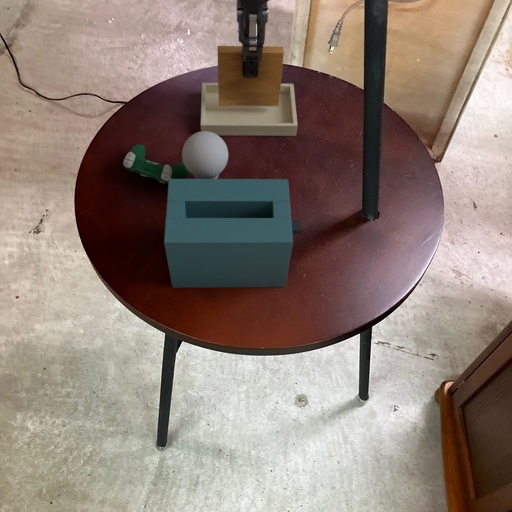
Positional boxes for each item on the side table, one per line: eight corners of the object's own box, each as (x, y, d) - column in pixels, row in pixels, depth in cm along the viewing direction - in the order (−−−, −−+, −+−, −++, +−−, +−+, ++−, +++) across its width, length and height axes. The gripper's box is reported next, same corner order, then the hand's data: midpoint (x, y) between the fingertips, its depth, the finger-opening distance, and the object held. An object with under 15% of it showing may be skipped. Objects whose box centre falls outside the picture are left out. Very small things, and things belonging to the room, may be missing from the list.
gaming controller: (133, 168, 80) (112, 169, 74) (139, 142, 79) (119, 142, 74) (190, 188, 79) (174, 190, 73) (197, 162, 78) (181, 163, 72)
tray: (201, 135, 82) (200, 125, 80) (202, 93, 87) (202, 82, 85) (296, 136, 83) (297, 125, 81) (292, 94, 87) (293, 83, 86)
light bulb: (236, 195, 76) (237, 144, 68) (198, 213, 74) (194, 162, 66) (215, 167, 79) (213, 115, 70) (178, 184, 77) (171, 131, 68)
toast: (218, 106, 82) (217, 52, 74) (218, 99, 83) (217, 45, 75) (278, 106, 83) (283, 52, 75) (278, 100, 83) (283, 46, 75)
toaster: (172, 287, 68) (164, 242, 59) (175, 228, 73) (168, 178, 64) (298, 287, 69) (307, 242, 60) (293, 228, 73) (301, 179, 65)
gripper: (221, -83, 67) (223, 40, 81) (221, -19, 59) (223, 104, 74) (283, -82, 67) (274, 41, 82) (290, -17, 60) (278, 105, 74)
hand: (249, 71), depth 78 cm, fingers closed on toast, 1 cm apart
